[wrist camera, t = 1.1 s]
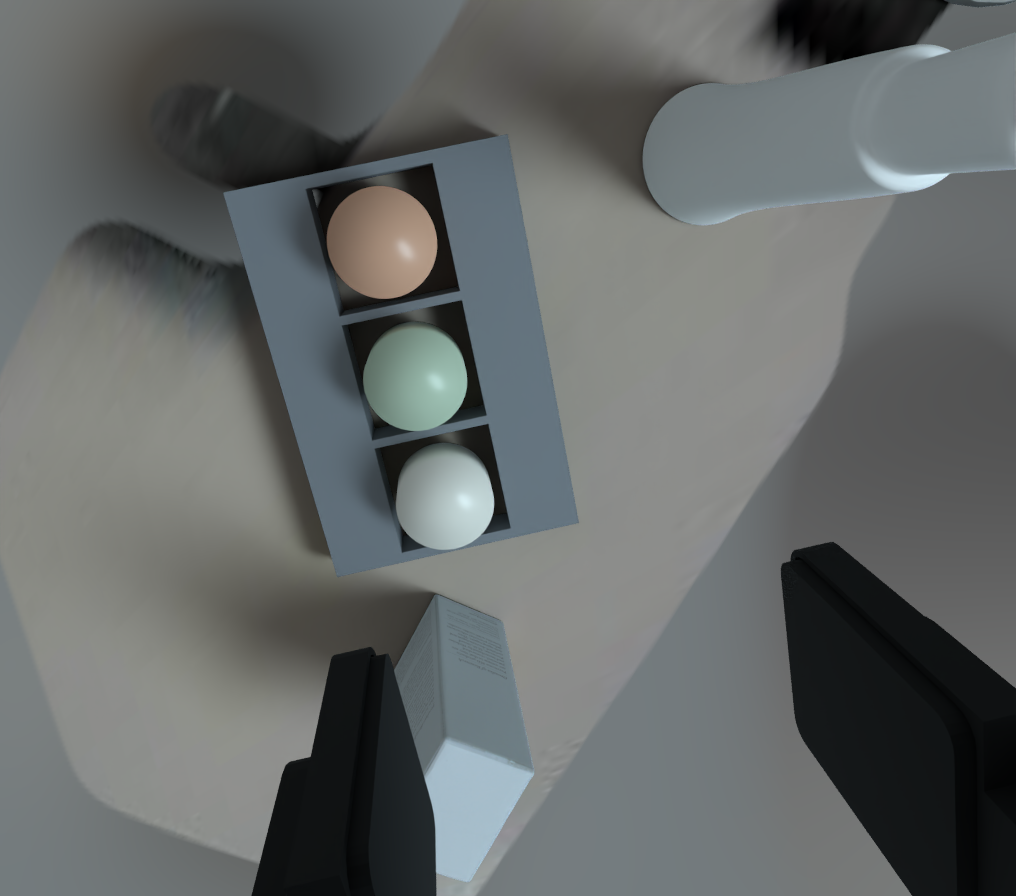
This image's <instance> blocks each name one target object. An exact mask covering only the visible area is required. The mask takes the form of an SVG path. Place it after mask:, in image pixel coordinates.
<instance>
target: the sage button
mask: <svg viewBox="0 0 1016 896" xmlns="http://www.w3.org/2000/svg"><path fill="white" fill-rule="evenodd" d="M363 384H364V390H365V394H366V397H367V400H368V402H369V404H370V405H371V407H372V408H373V410H374V411H375V412H376V413H377V415H378V416H379V417H381V418H382V419H383V420H384V421H386V422H387V423H389V424H391V425H393V426H394V427H397V428H400V429H404V430H409V431H422V430H428V429H432V428H435V427H437V426H439V425H441V424H443V423H445V422H446V421H447V420H449V419H450V418H451V417H452V416H453V415H454V414H455V413H456V412H457V410H458V409H459V407H460V406H461V404H462V402H463V400H464V397H465V394H466V389H467V373H466V368H465V364H464V360H463V356H462V353H461V351H460V349H459V347H458V345H457V344H456V342H455V341H454V340H453V338H452V337H451V336H450V335H449V334H448V333H446V332H445V331H444V330H442V329H440V328H439V327H437V326H434V325H432V324H429V323H425V322H406V323H402V324H398V325H396V326H394V327H392V328H390V329H389V330H387V331H386V332H385V333H383V334H382V335H381V336H380V337H379V338H378V339H377V341H376V342H375V344H374V345H373V347H372V349H371V352H370V354H369V357H368V360H367V362H366V365H365V369H364V376H363Z"/></svg>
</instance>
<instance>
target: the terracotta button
mask: <svg viewBox="0 0 1016 896" xmlns="http://www.w3.org/2000/svg"><path fill="white" fill-rule="evenodd" d="M327 249H328V254H329V257H330V260H331V263H332V265H333V267H334V269H335V271H336V272H337V274H338V275H339V276H340V278H341V279H342V280H343V281H344V282H345V283H346V284H347V285H348V286H350V287H351V288H352V289H354V290H355V291H357V292H359V293H361V294H363V295H366V296H369V297H373V298H380V299H389V298H396V297H399V296H403V295H405V294H407V293H409V292H411V291H413V290H414V289H416V288H417V287H418V286H419V285H420V284H421V283H422V282H423V281H424V280H425V279H426V278H427V276H428V275H429V273H430V271H431V269H432V267H433V265H434V262H435V258H436V254H437V236H436V231H435V227H434V224H433V222H432V220H431V217H430V216H429V214H428V212H427V211H426V209H425V208H424V207H423V206H422V205H421V204H420V203H419V202H418V201H417V200H416V199H415V198H414V197H412V196H411V195H409V194H407V193H406V192H404V191H401V190H399V189H396V188H392V187H386V186H373V187H367V188H364V189H361V190H359V191H356V192H354V193H353V194H351V195H349V196H348V197H347V198H346V199H344V200H343V201H342V202H341V204H340V205H339V206H338V207H337V209H336V210H335V212H334V214H333V216H332V218H331V220H330V223H329V226H328V231H327Z"/></svg>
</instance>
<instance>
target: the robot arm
mask: <svg viewBox="0 0 1016 896" xmlns="http://www.w3.org/2000/svg"><path fill="white" fill-rule="evenodd" d="M944 1H947V2H949V3H952V4H957V5H965V6H972V7H987V6H999V5H1006V4H1009V3H1012V2H1015V1H1016V0H944ZM781 580H782V589H783V600H784V609H785V610H784V611H785V621H786V631H787V641H788V652H789V662H790V672H791V683H792V693H793V703H794V714H795V719H796V724H797V727H798V730H799V732H800V734H801V737H802V739H803V741H804V742H805V744H806V745H807V747H808V748H809V749H810V751H811V752H812V754H813V755H814V757H815V758H816V759H817V761H818V762H819V764H820V765H821V767H822V768H823V769H824V771H825V772H826V773H827V775H828V776H829V778H830V779H831V781H832V782H833V784H834V785H835V786H836V788H837V789H838V791H839V792H840V794H841V795H842V796H843V798H844V799H845V801H846V802H847V803H848V805H849V806H850V808H851V809H852V811H853V812H854V813H855V815H856V816H857V818H858V819H859V821H860V822H861V823H862V825H863V826H864V828H865V829H866V831H867V832H868V833H869V835H870V836H871V838H872V839H873V840H874V842H875V843H876V845H877V846H878V848H879V849H880V850H881V852H882V853H883V855H884V856H885V857H886V859H887V860H888V862H889V863H890V864H891V866H892V868H893V869H894V870H895V872H896V873H897V875H898V876H899V878H900V879H901V880H902V882H903V883H904V884H905V886H906V887H907V889H908V890H909V892H910V893H911V895H912V896H1016V688H1015V687H1013V686H1012V685H1011V684H1010V683H1008V682H1007V681H1006V680H1005V679H1004V678H1002V677H1001V676H1000V675H999V674H997V673H996V672H995V671H994V670H993V669H991V668H990V667H989V666H988V665H987V664H985V663H984V662H983V661H982V660H980V659H979V658H978V657H977V656H976V655H974V654H973V653H972V652H971V651H969V650H968V649H967V648H966V647H965V646H963V645H962V644H961V643H960V642H958V641H957V640H956V639H955V638H954V637H952V636H951V635H950V634H949V633H948V632H946V631H945V630H944V629H942V628H941V627H940V626H939V625H938V624H936V623H935V622H934V621H932V620H931V619H929V618H927V617H925V616H923V615H922V614H921V613H920V612H918V611H917V610H916V609H915V608H914V607H912V606H911V605H910V604H909V603H908V602H906V601H905V600H904V599H903V598H902V597H900V596H899V595H898V594H897V593H895V592H894V591H893V590H892V589H891V588H889V587H888V586H887V585H886V584H885V583H883V582H882V581H881V580H879V578H877V577H876V576H875V575H874V574H872V573H871V572H870V571H869V570H867V569H866V568H865V567H864V566H863V565H862V564H860V563H859V562H858V561H857V560H855V559H854V558H853V557H852V556H851V555H850V554H848V553H847V552H846V551H845V550H843V549H842V548H841V547H840V546H839V545H837V544H836V543H834V542H829V543H824V544H820V545H816V546H811V547H807V548H802V549H798V550H794V551H793V552H792V555H791V561H790V562H786V563H783V564H782V566H781ZM252 896H436V834H435V820H434V813H433V808H432V803H431V799H430V796H429V792H428V789H427V785H426V782H425V778H424V775H423V771H422V767H421V764H420V760H419V757H418V753H417V750H416V746H415V743H414V739H413V736H412V732H411V729H410V725H409V722H408V718H407V715H406V711H405V708H404V704H403V701H402V697H401V694H400V690H399V687H398V683H397V680H396V676H395V672H394V669H393V665H392V662H391V659H390V657H389V655H388V654H383V655H379V656H376V654H375V652H374V650H373V648H372V647H368V648H364V649H359V650H355V651H351V652H346V653H342V654H337V655H334V656H332V659H331V663H330V667H329V672H328V677H327V682H326V686H325V691H324V696H323V701H322V705H321V710H320V715H319V720H318V725H317V729H316V734H315V739H314V744H313V748H312V753H311V757H308V758H304V759H300V760H296V761H291V762H289V763H288V764H287V765H286V766H285V768H284V771H283V774H282V777H281V781H280V785H279V789H278V793H277V797H276V801H275V805H274V809H273V813H272V817H271V821H270V825H269V829H268V833H267V837H266V841H265V844H264V848H263V852H262V856H261V860H260V864H259V868H258V872H257V876H256V880H255V884H254V888H253V892H252Z"/></svg>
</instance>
